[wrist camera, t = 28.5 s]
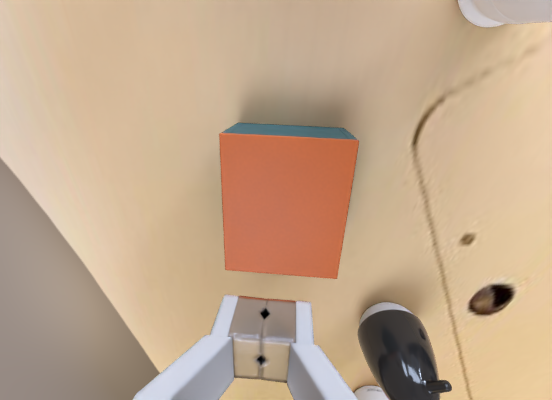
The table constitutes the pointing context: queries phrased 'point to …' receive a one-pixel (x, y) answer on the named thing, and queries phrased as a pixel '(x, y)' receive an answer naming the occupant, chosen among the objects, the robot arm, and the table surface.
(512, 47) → the table surface
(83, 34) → the table surface
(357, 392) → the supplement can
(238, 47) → the table surface
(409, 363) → the pump dispenser
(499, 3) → the jar
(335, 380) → the robot arm
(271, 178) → the lid
